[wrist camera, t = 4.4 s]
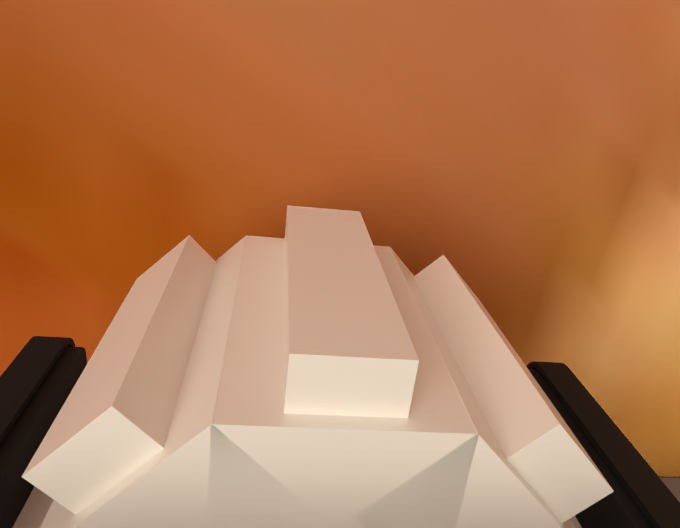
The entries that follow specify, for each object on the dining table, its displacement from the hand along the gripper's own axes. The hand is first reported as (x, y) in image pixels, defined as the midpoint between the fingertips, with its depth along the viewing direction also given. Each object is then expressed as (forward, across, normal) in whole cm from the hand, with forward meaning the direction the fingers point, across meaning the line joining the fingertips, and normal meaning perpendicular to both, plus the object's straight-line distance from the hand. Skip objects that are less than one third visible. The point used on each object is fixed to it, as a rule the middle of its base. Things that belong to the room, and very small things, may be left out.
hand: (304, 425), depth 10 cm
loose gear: (+1, 0, 0) cm, 1 cm away
